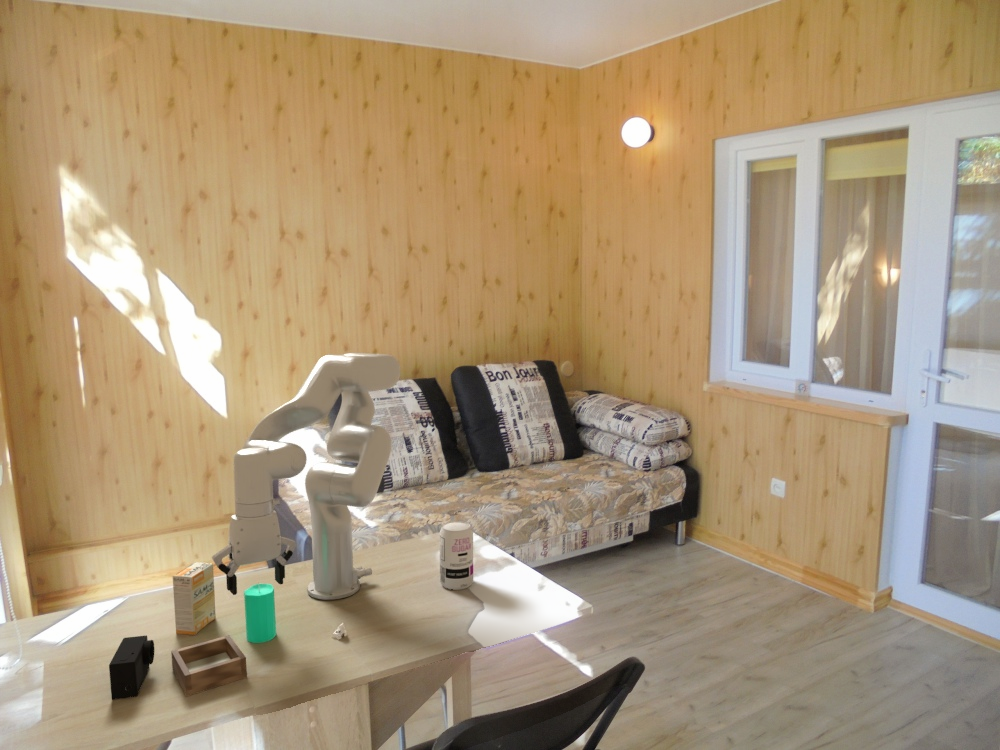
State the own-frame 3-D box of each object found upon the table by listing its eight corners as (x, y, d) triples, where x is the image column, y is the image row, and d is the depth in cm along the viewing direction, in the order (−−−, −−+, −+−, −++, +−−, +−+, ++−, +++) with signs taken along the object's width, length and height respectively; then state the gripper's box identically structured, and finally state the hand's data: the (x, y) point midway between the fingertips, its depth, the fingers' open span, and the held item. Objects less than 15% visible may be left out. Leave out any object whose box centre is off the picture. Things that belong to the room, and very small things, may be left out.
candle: (267, 626, 162) (265, 574, 161) (281, 636, 158) (278, 582, 156) (241, 636, 158) (238, 582, 157) (254, 646, 154) (251, 591, 152)
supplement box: (195, 636, 158) (191, 577, 156) (175, 633, 159) (171, 575, 157) (217, 618, 166) (214, 562, 165) (198, 616, 167) (194, 561, 165)
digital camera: (144, 696, 136) (141, 660, 135) (111, 700, 135) (108, 664, 134) (156, 667, 146) (153, 634, 145) (126, 671, 145) (123, 637, 144)
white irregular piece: (341, 642, 156) (341, 627, 156) (330, 640, 157) (330, 626, 157) (348, 635, 159) (348, 621, 159) (337, 633, 160) (337, 620, 160)
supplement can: (454, 574, 190) (453, 518, 188) (480, 582, 185) (479, 524, 183) (433, 585, 183) (432, 527, 181) (459, 593, 179) (458, 534, 177)
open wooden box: (230, 653, 151) (229, 634, 150) (247, 677, 142) (246, 657, 142) (172, 670, 145) (171, 651, 144) (186, 696, 136) (185, 675, 135)
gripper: (288, 497, 162) (290, 573, 164) (206, 510, 152) (208, 590, 154) (301, 505, 156) (302, 584, 158) (216, 519, 146) (219, 603, 148)
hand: (256, 587), depth 156 cm, fingers open, 9 cm apart
